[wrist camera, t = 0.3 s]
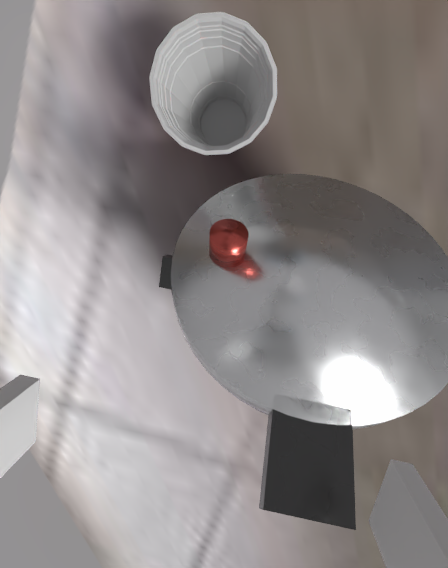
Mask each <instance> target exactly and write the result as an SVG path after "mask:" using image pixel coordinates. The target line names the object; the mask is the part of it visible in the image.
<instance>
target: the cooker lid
mask: <svg viewBox="0 0 448 568" xmlns="http://www.w3.org/2000/svg"><path fill="white" fill-rule="evenodd" d="M171 286H172V295H173V301H174V306H175V311H176V315H177V320H178V322H179V325H180V327H181V330H182V333H183V335H184V338H185V339H186V341H187V343H188V345H189V346H190V348H191V350H192V352H193V353H194V355H195V356H196V358H197V359H198V360H199V362H200V363H201V364H202V365H203V367H204V368H205V369H206V371H207V372H208V373H209V374H210V375H211V376H212V377H213V378H214V379H215V380H216V381H217V382H218V383H219V384H220V385H221V386H222V387H224V388H225V389H226V390H228V391H229V392H230V393H232V394H233V395H234V396H235V397H237V398H238V399H239V400H241V401H243V402H244V403H246V404H248V405H250V406H251V407H253V408H255V409H256V410H258V411H260V412H262V413H265V414H267V415H269V416H268V426H267V436H266V446H265V456H264V466H263V475H262V485H261V495H260V505H259V508H260V509H263V510H267V511H272V512H276V513H281V514H285V515H290V516H295V517H299V518H304V519H308V520H313V521H317V522H322V523H326V524H331V525H335V526H340V527H344V528H349V529H354V530H356V525H355V493H354V462H353V430H352V429H359V428H365V427H371V426H374V425H377V424H381V423H384V422H387V421H390V420H393V419H395V418H398V417H401V416H403V415H406V414H408V413H410V412H411V411H413V410H415V409H417V408H419V407H421V406H423V405H424V404H426V403H427V402H428V401H429V400H431V399H432V398H433V397H435V396H436V395H437V394H438V393H440V391H441V390H442V389H443V388H444V387H445V386H446V384H447V383H448V257H447V256H446V254H445V253H444V251H443V250H442V248H441V247H440V246H439V245H438V243H437V242H436V241H435V240H434V239H433V237H432V236H431V235H430V234H429V233H428V232H427V231H426V230H425V229H424V228H423V227H422V226H421V225H420V224H419V223H417V222H416V221H415V220H414V219H413V218H412V217H410V216H409V215H408V214H407V213H405V212H404V211H402V210H401V209H399V208H398V207H397V206H395V205H394V204H392V203H390V202H389V201H387V200H385V199H383V198H382V197H380V196H378V195H376V194H374V193H372V192H370V191H367V190H365V189H363V188H360V187H357V186H355V185H352V184H349V183H346V182H343V181H339V180H336V179H331V178H326V177H321V176H314V175H306V174H278V175H269V176H262V177H258V178H254V179H250V180H246V181H243V182H240V183H238V184H235V185H232V186H230V187H228V188H226V189H224V190H222V191H221V192H219V193H217V194H216V195H214V196H213V197H211V198H210V199H209V200H207V201H206V202H205V203H204V204H203V205H202V206H201V207H199V208H198V209H197V211H196V212H195V213H194V214H193V215H192V216H191V217H190V219H189V220H188V222H187V223H186V225H185V226H184V228H183V230H182V231H181V234H180V236H179V238H178V240H177V243H176V246H175V250H174V254H173V257H172V266H171Z"/></svg>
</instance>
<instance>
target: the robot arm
mask: <svg viewBox="0 0 448 568" xmlns="http://www.w3.org/2000/svg"><path fill="white" fill-rule="evenodd" d="M39 387H40V379H38V378H33V377H29V376H24V375H19V376H18V377H16V378H15V379H14V380H12V381H11V382H9V383H8V384H6V385H5V386H3V387H2V388H0V478H1V477H2V476H3V475H4V474H5V473H6V472H7V471H8V470H9V469H10V468H11V467H12V466H13V465H14V463H15V462H16V461H17V460H18V459H19V458H20V457H21V456H22V455H23V454H24V453H25V452H26V451H27V450H28V449H29V448H30V447H31V446H32V445H33V444H34V443H35V442H36V431H37V416H38V401H39ZM369 523H370V525H371V528H372V531H373V533H374V536H375V539H376V541H377V544H378V547H379V549H380V552H381V555H382V557H383V560H384V563H385V566H386V568H448V519H447V517H446V516H445V514H444V513H443V511H442V509H441V508H440V506H439V505H438V503H437V502H436V500H435V498H434V497H433V495H432V494H431V492H430V491H429V489H428V487H427V486H426V484H425V483H424V481H423V480H422V478H421V476H420V475H419V473H418V472H417V470H416V469H415V467H414V465H413V464H410V463H406V462H401V461H397V460H393V459H391V460H390V463H389V466H388V469H387V472H386V474H385V477H384V480H383V483H382V485H381V488H380V491H379V494H378V496H377V499H376V502H375V505H374V507H373V510H372V513H371V516H370V518H369Z"/></svg>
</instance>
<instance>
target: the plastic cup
mask: <svg viewBox="0 0 448 568" xmlns="http://www.w3.org/2000/svg"><path fill="white" fill-rule="evenodd" d="M149 80H150V91H151V101H152V106H153V108H154V110H155V112H156V115H157V117H158V119H159V121H160V123H161V125H162V127H163V129H164V130H165V131H166V132H167V133H168V134H169V135H170V136H171V137H172V138H173V139H174V140H176V141H177V142H178V143H179V144H180V145H181V146H182V147H184V148H187V149H190V150H192V151H195V152H198V153H200V154H203V155H217V154H230V153H232V152H233V151H235V150H237V149H239V148H241V147H243V146H245V145H247V144H249V143H251V142H252V141H253V140H254V138H255V137H256V136H257V135H258V134H259V133H260V131H261V130H262V129H263V128H264V127H265V126H266V124H267V123H268V121H269V118H270V115H271V113H272V110H273V107H274V104H275V101H276V99H277V68H276V65H275V63H274V60H273V57H272V55H271V52H270V50H269V47H268V45H267V42H266V41H265V40H264V39H263V38H262V37H261V36H260V35H259V34H258V32H257V31H256V30H255V29H254V28H253V27H252V26H251V25H250V24H249V23H248V22H247V21H244V20H242V19H239V18H237V17H234V16H232V15H229V14H227V13H224V12H213V13H200V14H195V15H193V16H191V17H190V18H188V19H186V20H185V21H183V22H181V23H179V24H178V25H176V26H174V27H173V28H172V29H171V30H170V32H169V33H168V35H167V36H166V37H165V39H164V40H163V41H162V43H161V44H160V45H159V47H158V48H157V50H156V53H155V57H154V61H153V65H152V68H151V72H150V76H149Z"/></svg>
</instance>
